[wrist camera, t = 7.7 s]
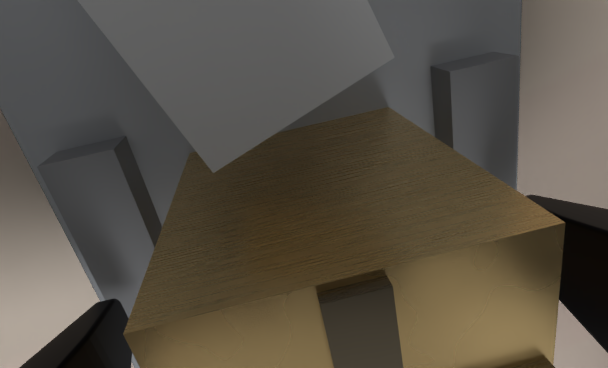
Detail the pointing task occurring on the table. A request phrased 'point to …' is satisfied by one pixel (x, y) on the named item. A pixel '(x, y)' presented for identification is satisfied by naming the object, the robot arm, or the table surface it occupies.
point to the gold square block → (349, 258)
